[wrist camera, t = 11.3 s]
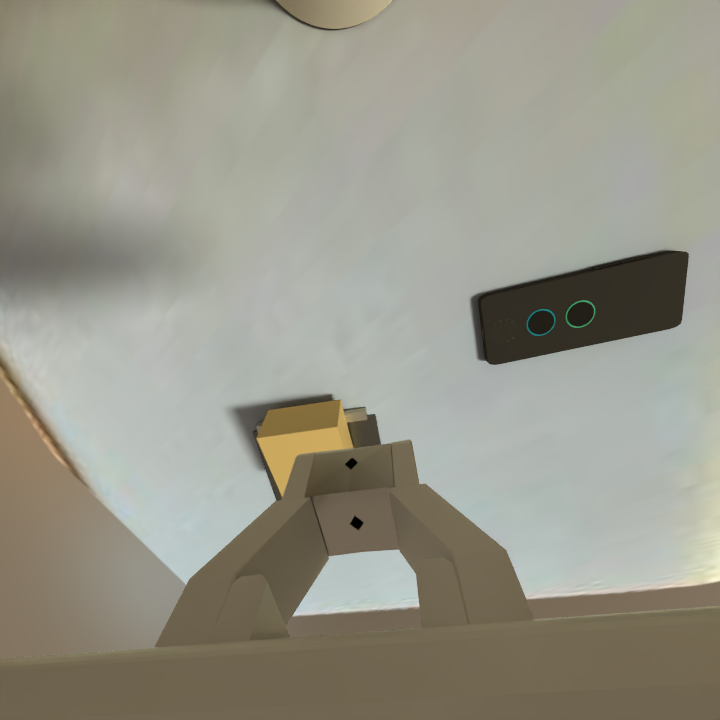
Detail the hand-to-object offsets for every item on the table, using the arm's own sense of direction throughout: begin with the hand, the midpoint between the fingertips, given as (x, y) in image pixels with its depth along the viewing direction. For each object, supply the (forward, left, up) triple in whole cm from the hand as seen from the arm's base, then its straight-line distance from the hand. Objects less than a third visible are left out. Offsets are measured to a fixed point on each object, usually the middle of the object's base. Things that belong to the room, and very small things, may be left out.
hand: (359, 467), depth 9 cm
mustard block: (+13, -10, -25) cm, 30 cm away
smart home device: (+7, +21, -30) cm, 37 cm away
